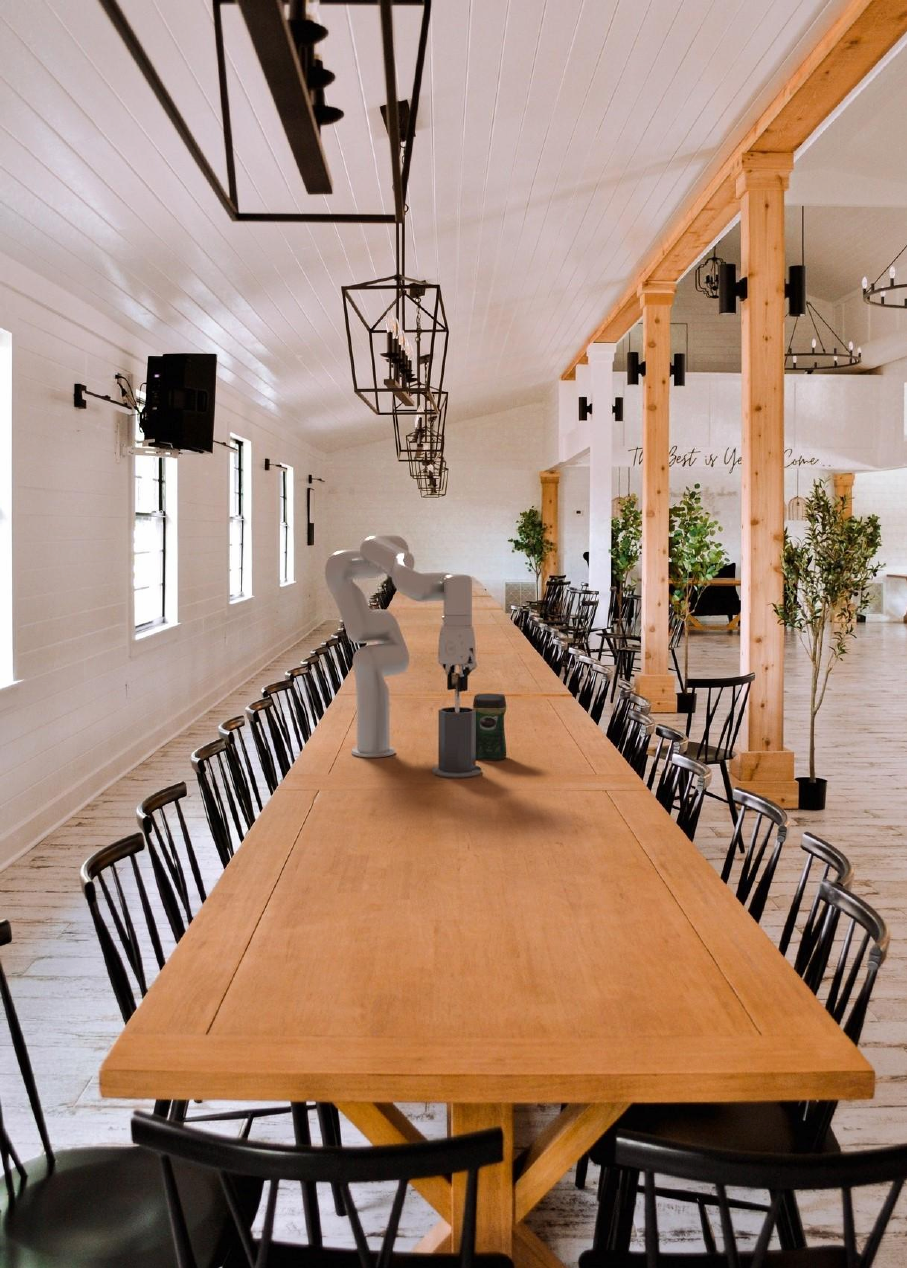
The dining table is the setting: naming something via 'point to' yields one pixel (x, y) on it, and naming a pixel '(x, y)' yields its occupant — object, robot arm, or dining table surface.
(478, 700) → the coffee jar
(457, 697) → the plunger
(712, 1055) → the dining table surface
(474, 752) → the press carafe
